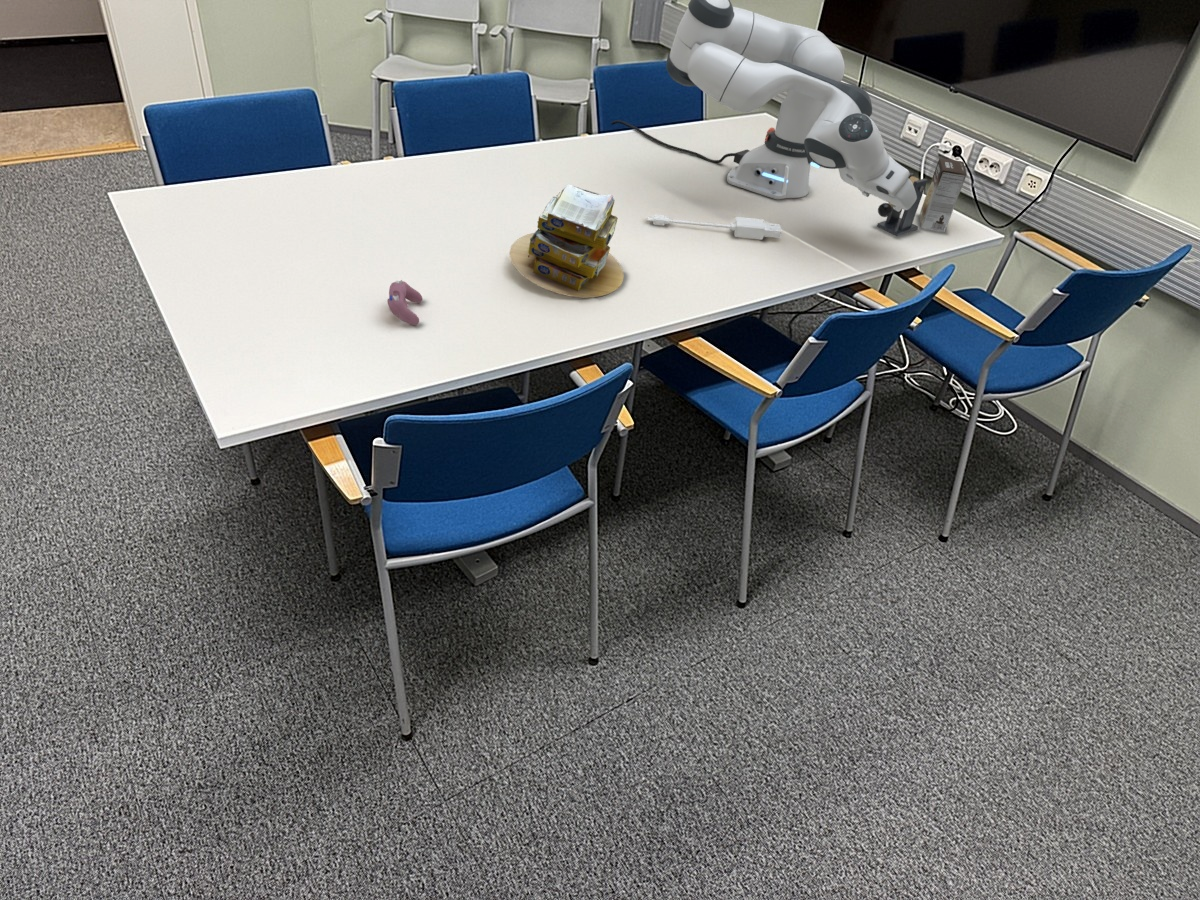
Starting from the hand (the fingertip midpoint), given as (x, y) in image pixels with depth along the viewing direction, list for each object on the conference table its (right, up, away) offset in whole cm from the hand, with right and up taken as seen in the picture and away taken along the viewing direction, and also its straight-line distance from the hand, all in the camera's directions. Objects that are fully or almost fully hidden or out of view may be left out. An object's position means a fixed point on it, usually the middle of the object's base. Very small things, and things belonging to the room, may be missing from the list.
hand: (882, 201), depth 215 cm
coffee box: (+18, -2, +17) cm, 25 cm away
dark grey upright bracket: (+7, -4, +12) cm, 15 cm away
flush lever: (+6, +1, +5) cm, 8 cm away
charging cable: (-41, -8, -1) cm, 42 cm away
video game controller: (-107, -35, -45) cm, 121 cm away
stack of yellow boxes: (-77, -22, -25) cm, 83 cm away
